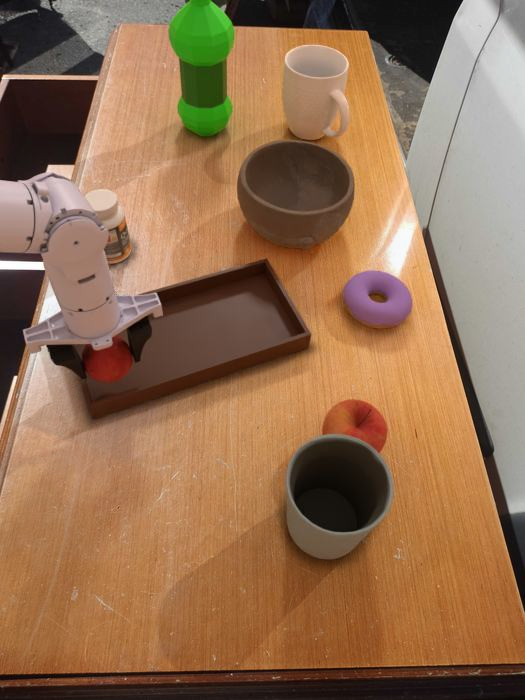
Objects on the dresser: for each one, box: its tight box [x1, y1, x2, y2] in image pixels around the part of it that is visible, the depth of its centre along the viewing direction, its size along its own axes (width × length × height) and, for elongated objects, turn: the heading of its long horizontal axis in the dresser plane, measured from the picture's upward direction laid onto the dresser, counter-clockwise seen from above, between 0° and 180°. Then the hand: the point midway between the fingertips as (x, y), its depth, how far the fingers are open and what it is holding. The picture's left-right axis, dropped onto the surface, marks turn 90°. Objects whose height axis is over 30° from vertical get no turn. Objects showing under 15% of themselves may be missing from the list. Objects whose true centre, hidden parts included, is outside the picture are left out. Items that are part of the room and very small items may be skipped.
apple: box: [321, 399, 388, 454], centre depth 64 cm, size 7×7×8 cm
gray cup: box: [284, 434, 395, 560], centre depth 57 cm, size 10×10×12 cm
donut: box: [342, 269, 413, 330], centre depth 79 cm, size 10×9×5 cm
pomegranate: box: [82, 335, 133, 383], centre depth 66 cm, size 6×6×8 cm
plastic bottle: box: [168, 0, 236, 137], centre depth 93 cm, size 10×10×25 cm
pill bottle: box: [84, 188, 132, 264], centre depth 80 cm, size 6×6×10 cm
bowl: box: [236, 139, 356, 250], centre depth 85 cm, size 17×18×10 cm
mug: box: [281, 44, 351, 141], centre depth 98 cm, size 15×11×13 cm
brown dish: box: [74, 257, 312, 420], centre depth 74 cm, size 30×15×3 cm, turn 113°
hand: (109, 364), depth 67 cm, fingers closed on pomegranate, 6 cm apart
